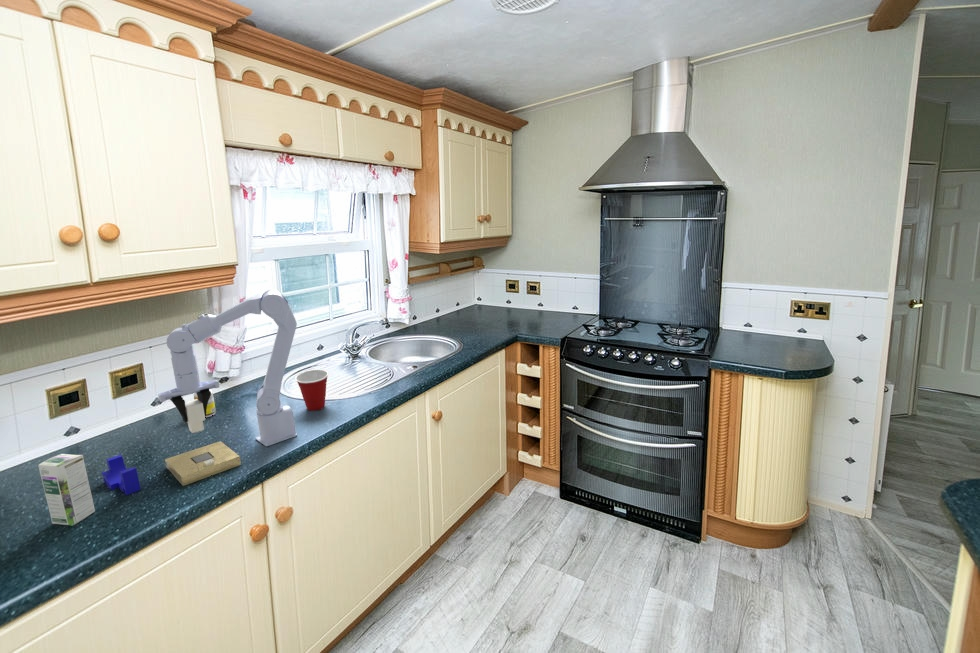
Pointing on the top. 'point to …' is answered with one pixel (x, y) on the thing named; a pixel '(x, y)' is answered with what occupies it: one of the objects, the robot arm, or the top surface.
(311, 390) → the plastic cup
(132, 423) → the top surface
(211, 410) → the supplement bottle
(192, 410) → the plug
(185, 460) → the socket plate
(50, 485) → the syrup box
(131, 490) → the cable clip
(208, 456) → the panel
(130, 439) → the top surface
